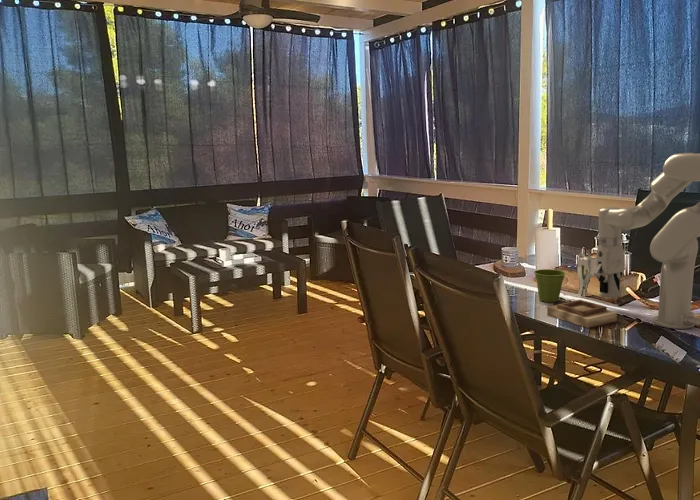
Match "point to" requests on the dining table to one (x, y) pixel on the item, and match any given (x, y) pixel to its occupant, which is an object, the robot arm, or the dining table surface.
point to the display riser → (582, 313)
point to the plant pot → (549, 284)
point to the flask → (611, 288)
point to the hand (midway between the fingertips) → (609, 290)
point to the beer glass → (585, 273)
